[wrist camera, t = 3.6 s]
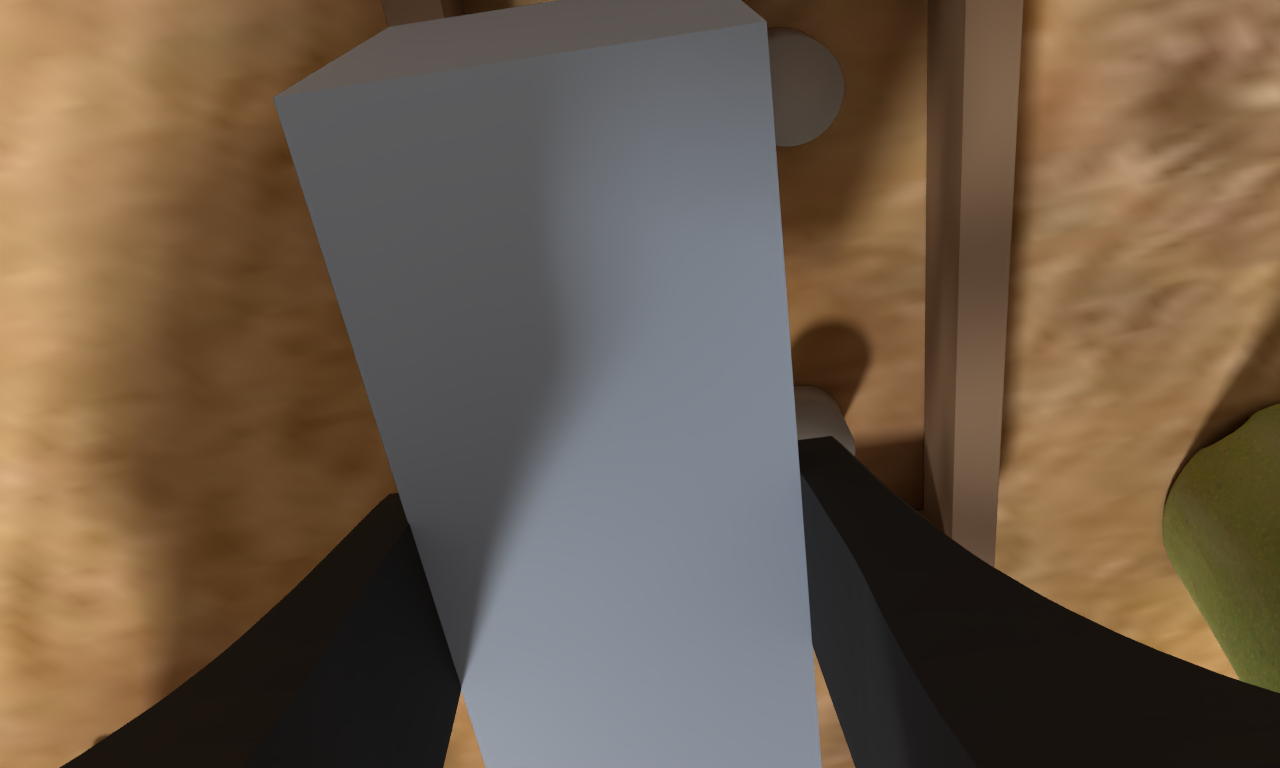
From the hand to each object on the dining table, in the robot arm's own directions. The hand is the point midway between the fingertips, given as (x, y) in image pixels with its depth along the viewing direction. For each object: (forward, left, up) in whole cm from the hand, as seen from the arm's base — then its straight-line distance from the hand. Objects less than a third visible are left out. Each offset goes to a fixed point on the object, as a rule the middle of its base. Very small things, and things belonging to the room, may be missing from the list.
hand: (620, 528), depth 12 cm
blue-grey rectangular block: (0, 0, -4) cm, 4 cm away
